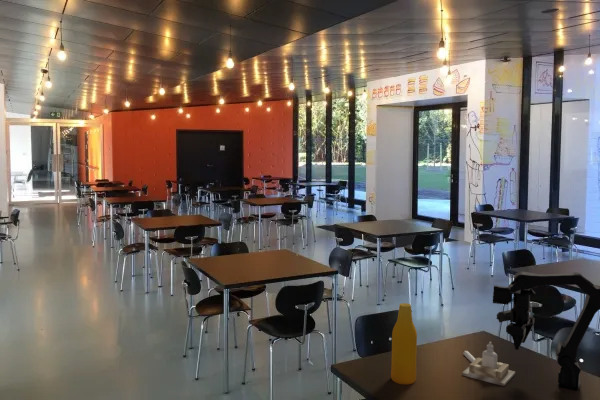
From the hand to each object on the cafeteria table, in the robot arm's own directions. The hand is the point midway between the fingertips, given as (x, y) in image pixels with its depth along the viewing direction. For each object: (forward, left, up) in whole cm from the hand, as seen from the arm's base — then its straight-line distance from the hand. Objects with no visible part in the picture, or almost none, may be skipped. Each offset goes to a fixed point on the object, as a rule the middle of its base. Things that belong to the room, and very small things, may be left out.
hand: (519, 346), depth 202 cm
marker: (+21, -8, -14) cm, 26 cm away
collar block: (+10, +3, -13) cm, 17 cm away
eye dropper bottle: (+10, +3, -12) cm, 16 cm away
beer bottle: (+34, +28, -13) cm, 46 cm away
